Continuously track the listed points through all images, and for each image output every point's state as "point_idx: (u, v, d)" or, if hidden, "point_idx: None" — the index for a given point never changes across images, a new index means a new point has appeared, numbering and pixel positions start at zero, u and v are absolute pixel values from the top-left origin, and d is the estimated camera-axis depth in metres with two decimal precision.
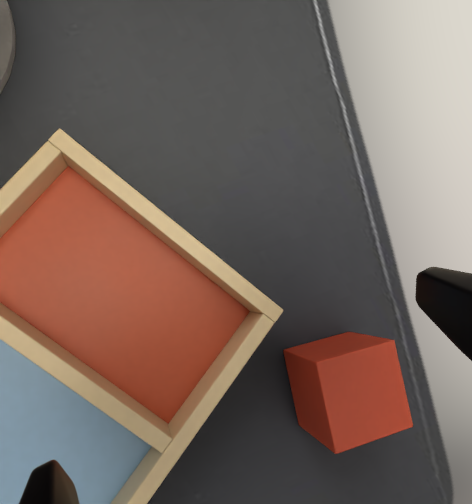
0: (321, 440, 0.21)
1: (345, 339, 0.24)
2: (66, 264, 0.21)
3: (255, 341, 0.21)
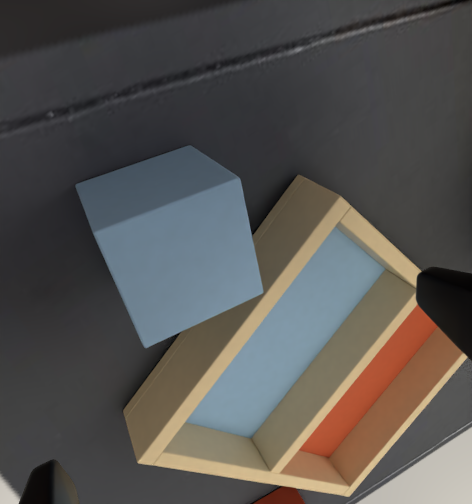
0: None
1: None
2: None
3: (333, 490, 0.27)
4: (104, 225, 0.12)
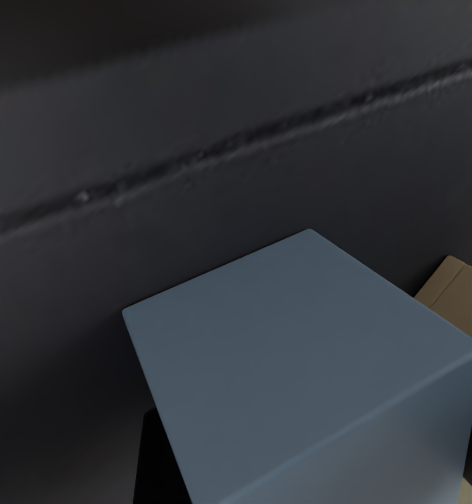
0: None
1: None
2: None
3: None
4: (220, 489, 0.05)
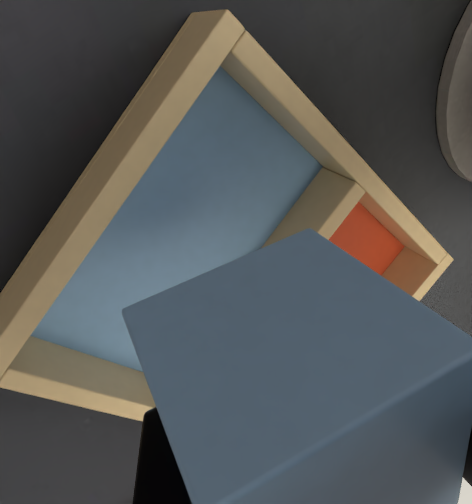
0: None
1: None
2: None
3: None
4: (219, 487, 0.05)
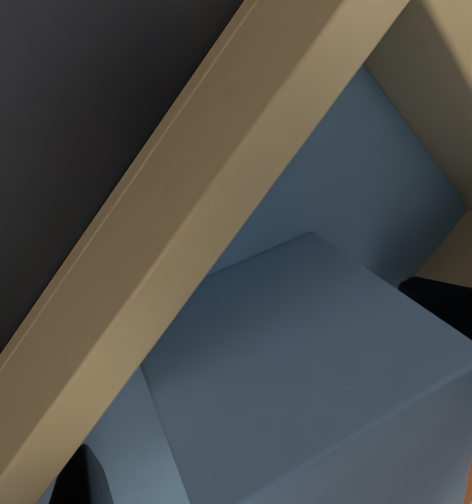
0: None
1: None
2: None
3: None
4: (222, 499, 0.05)
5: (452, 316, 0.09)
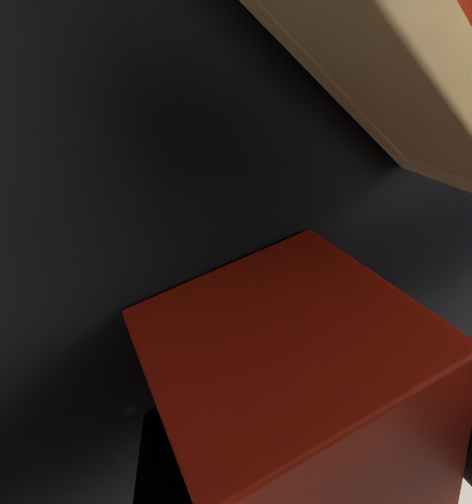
0: (177, 419, 0.06)
1: None
2: None
3: None
4: None
5: None
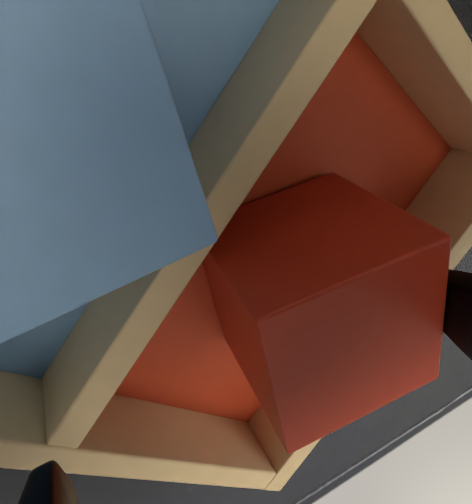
0: (238, 277, 0.09)
1: None
2: (326, 170, 0.13)
3: (240, 481, 0.14)
4: None
5: None
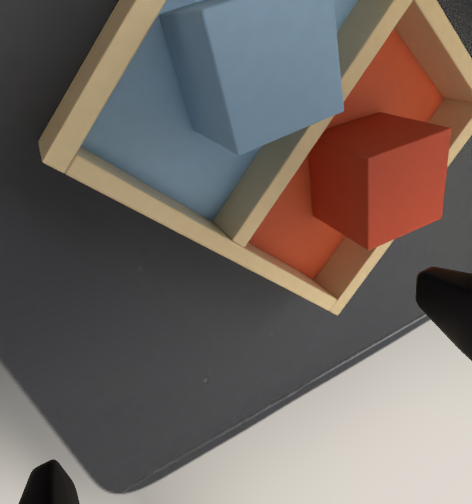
0: (350, 148, 0.18)
1: None
2: (371, 106, 0.21)
3: (317, 299, 0.22)
4: (209, 6, 0.12)
5: None
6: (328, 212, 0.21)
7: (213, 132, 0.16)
